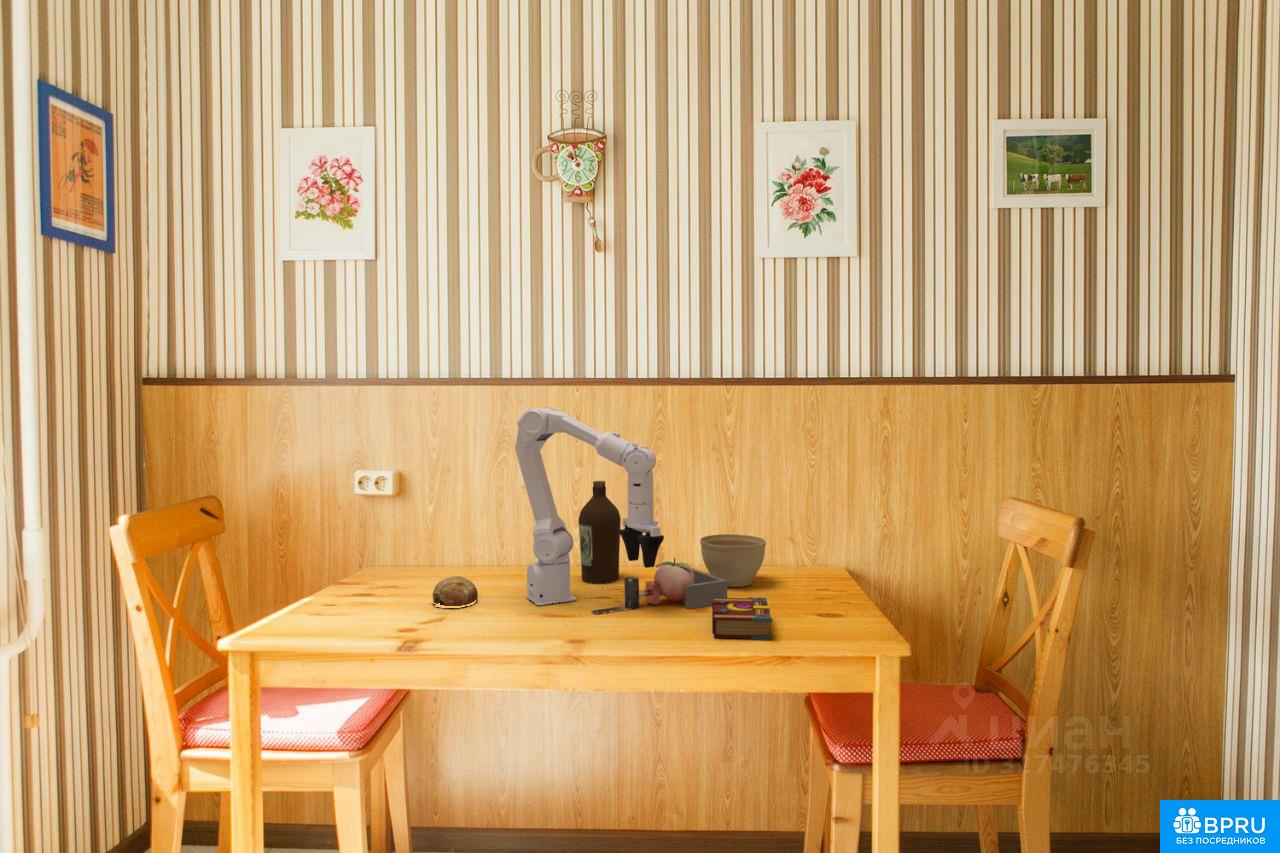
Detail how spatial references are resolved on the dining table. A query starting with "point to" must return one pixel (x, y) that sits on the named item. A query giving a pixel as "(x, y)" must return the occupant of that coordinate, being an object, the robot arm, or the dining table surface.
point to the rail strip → (611, 609)
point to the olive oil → (599, 537)
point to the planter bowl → (733, 557)
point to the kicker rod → (640, 592)
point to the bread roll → (455, 592)
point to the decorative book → (741, 618)
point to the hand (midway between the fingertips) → (641, 563)
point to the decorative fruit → (673, 579)
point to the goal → (704, 590)
